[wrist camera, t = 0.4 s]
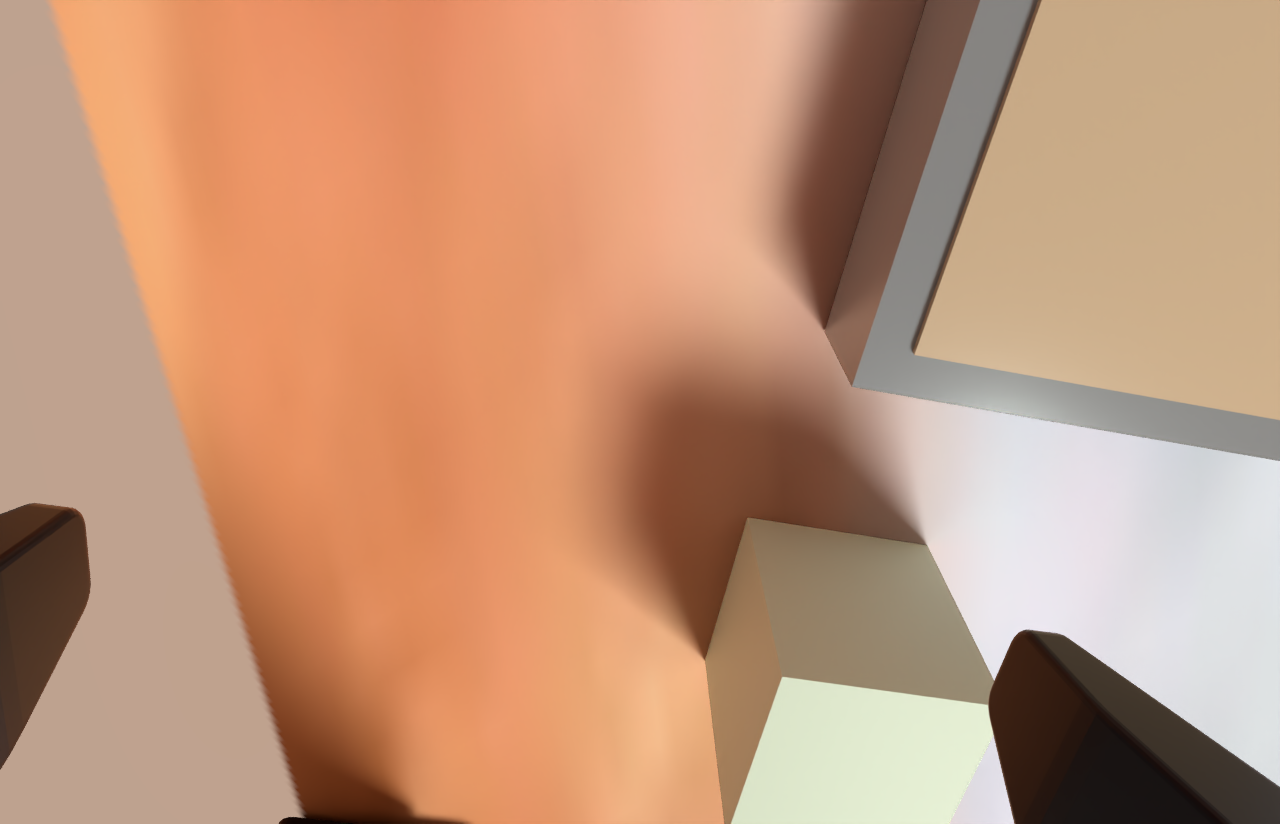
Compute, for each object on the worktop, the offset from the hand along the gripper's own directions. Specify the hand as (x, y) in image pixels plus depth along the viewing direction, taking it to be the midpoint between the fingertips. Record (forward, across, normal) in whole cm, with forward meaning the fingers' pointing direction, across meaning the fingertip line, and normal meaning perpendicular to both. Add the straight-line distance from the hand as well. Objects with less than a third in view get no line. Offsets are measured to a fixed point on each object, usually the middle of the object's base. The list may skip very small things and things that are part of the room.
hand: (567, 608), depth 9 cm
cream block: (+14, -8, +10) cm, 19 cm away
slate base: (+14, -12, -4) cm, 19 cm away
